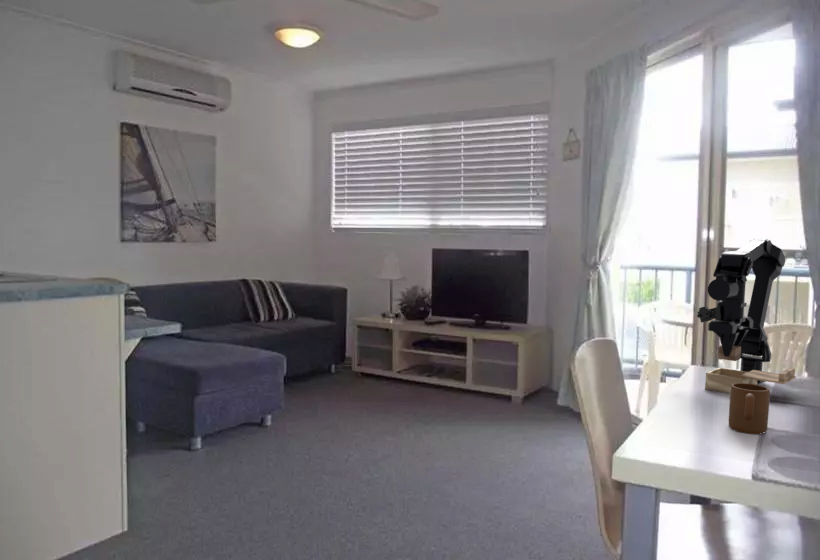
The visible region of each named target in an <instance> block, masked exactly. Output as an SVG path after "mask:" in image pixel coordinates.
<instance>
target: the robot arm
mask: <svg viewBox="0 0 820 560" xmlns="http://www.w3.org/2000/svg"><path fill="white" fill-rule="evenodd" d="M785 264H786V257H785V254H784V252H783V250H782V248H780V247H779V246H777V245H776V244H773V243H772V241H771V239H768V238H752V239H750V240H749V242H748V243H746V244H745V245H744V246H742V247H740V248H739V249H737V250H729V251H724V252H723V253H722V254H721V255H720V256H719V258H718V261H717V263H716V266H715V269H714V272H713V277H714V278H715V279H713V280H712V281H710V282H709V284H708V286H707V295H708V296H709V297H710V298H711V299H712V300H715V301H717V302H718V303H716V304H717V305H716V307H713V308H712V307H711V308H709V307H708V306H707V305H706V306H701V307H699V308H698V311H697V315H696V317H697V318H699V321H700V323H701V324H702V323H706V322H708V326H707V331H709V332H713V334H715V335H716V336H718V337H719V341H720V345H722V349H723V353H724V356H727V357H728V356H729V355H730V353H731V350H732V348H733V346H741V357H740V370H739V371H745V372H750V371H752V370H758V371H763V368H764V367H763V366H764V365H763V364H764V363H770V362H771V358H772V352H771V348H770V346H769V342H768V339H769V338H768V335H767V334H766V331H765V328H764V325H765V322H766V315H767V311H768V308H769V307H768V306H769V301H770V296H771V291H772V287H773V283H774V280H776V279H777V278H778V277H779V276H780V275H781V273H782V269H783V268H784V266H785ZM751 271H752V272H753V274H754V277H755V278H754V282H753V286H752V287H753V288H752V292H751V297H750V301H749V307H748V311H747V316H744V314H745V307H747V302H745V300H746V298H745V296H746V283H747V282H748V278H747V277H748V276H749V274H750V272H751ZM763 382H764V381H760V380H757V384H761V383H763Z"/></svg>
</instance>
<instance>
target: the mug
mask: <svg viewBox="0 0 820 560" xmlns="http://www.w3.org/2000/svg"><path fill="white" fill-rule="evenodd" d="M729 395H730V396H729V406H728V407H729V409H728V427H729V428H730V429H732V430H733V431H736V432H738V433H743V434H749V435H761V434H760V433H763V432H765V433H766V432H767V431H768V425H769V424H768V423H769V411H770V395H771V394H770V389H769V387H766V386H764V385H761V384H760V385H759V384H757V385H754V384H745V383H737V384H732V386H731V392H730V393H729ZM763 434H764V433H763Z"/></svg>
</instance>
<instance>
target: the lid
mask: <svg viewBox="0 0 820 560" xmlns="http://www.w3.org/2000/svg"><path fill="white" fill-rule="evenodd" d="M795 373H796V369H795V368H793V367H789V368H787V369H785V370H784V371H781V372H779V373H777V372H769V371H765V370H764V371H763V370H762V371H758V370H752V371H750V372H747V373H745V374H743V375H740V377H741V378H748V379H754V380H760V381H763V382H766V383H767V382H768V383H774V384H780V385H785V384H788V383H789V382H791V381H793V380H794V379H796V375H795Z"/></svg>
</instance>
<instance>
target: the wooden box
mask: <svg viewBox="0 0 820 560" xmlns="http://www.w3.org/2000/svg"><path fill="white" fill-rule="evenodd" d="M745 373H747V372H745V371H740V370H738V369H731V368H730V369H729V368H724V367H718V368H715V369H713V370H710V371H707V372H705V384H704V385H705V386H704V389H705V390H708V391H713V392H720V393H724V394H725V393H726V394H730V392H731V386H732V384H737V383H745V384H754V385H758V383H757V380H754V379H748V378H741V377H740V375H743V374H745Z"/></svg>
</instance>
